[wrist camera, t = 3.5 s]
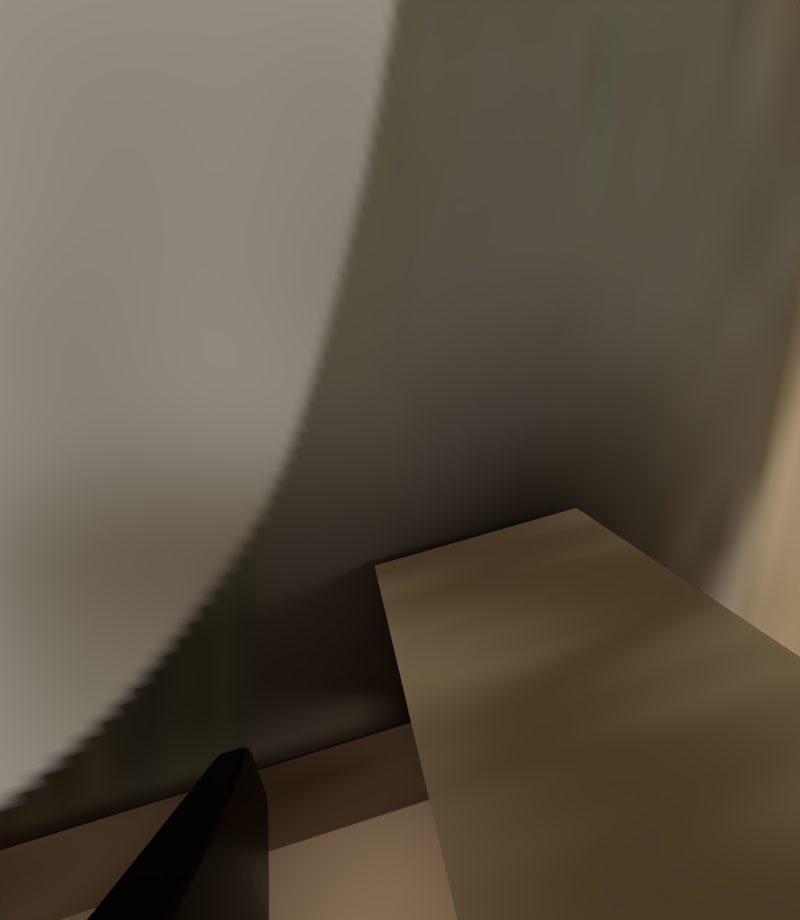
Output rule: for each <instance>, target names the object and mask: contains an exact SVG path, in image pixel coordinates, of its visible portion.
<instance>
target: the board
mask: <svg viewBox="0 0 800 920" xmlns="http://www.w3.org/2000/svg"><path fill="white" fill-rule="evenodd" d="M258 772H259V775H260V777H261V780H262V783H263V785H264V788H265V791H266V795H267V801H268V838H269V920H457V916H456V912H455V907H454V903H453V899H452V895H451V890H450V886H449V882H448V877H447V873H446V869H445V865H444V860H443V856H442V852H441V848H440V843H439V839H438V835H437V830H436V826H435V822H434V818H433V813H432V809H431V805H430V801H429V796H428V792H427V788H426V783H425V779H424V775H423V771H422V766H421V762H420V758H419V754H418V749H417V745H416V741H415V736H414V732H413V728H412V724H411V723H408V724H405V725H401V726H398V727H395V728H392V729H389V730H385V731H382V732H379V733H376V734H373V735H369V736H366V737H363V738H360V739H356V740H353V741H350V742H347V743H344V744H340V745H337V746H334V747H331V748H328V749H324V750H321V751H318V752H315V753H312V754H308V755H305V756H302V757H299V758H296V759H292V760H289V761H286V762H283V763H279V764H276V765H273V766H270V767H267V768H263V769H260V770H258ZM188 793H189V792H186V793H183V794H180V795H177V796H174V797H170V798H167V799H164V800H161V801H158V802H154V803H151V804H148V805H145V806H141V807H138V808H135V809H132V810H129V811H125V812H122V813H119V814H116V815H113V816H109V817H106V818H103V819H100V820H97V821H93V822H90V823H87V824H84V825H81V826H77V827H74V828H71V829H68V830H64V831H61V832H58V833H55V834H52V835H48V836H45V837H42V838H39V839H36V840H32V841H29V842H26V843H23V844H20V845H16V846H13V847H10V848H7V849H4V850H0V920H87V919H88V918H89V916H90V915H91V914H92V913H93V911H94V910H95V909H96V908H97V906H98V905H99V904H100V903H101V901H102V900H103V899H104V898H105V896H106V895H107V894H108V893H109V891H110V890H111V889H112V888H113V886H114V885H115V884H116V883H117V881H118V880H119V879H120V878H121V876H122V875H123V874H124V873H125V871H126V870H127V869H128V868H129V866H130V865H131V864H132V863H133V861H134V860H135V859H136V858H137V856H138V855H139V854H140V853H141V851H142V850H143V849H144V848H145V846H146V845H147V844H148V843H149V841H150V840H151V839H152V838H153V836H154V835H155V834H156V833H157V831H158V830H159V829H160V828H161V826H162V825H163V824H164V823H165V821H166V820H167V819H168V818H169V816H170V815H171V814H172V813H173V811H174V810H175V809H176V808H177V806H178V805H179V804H180V803H181V801H182V800H183V799H184V798H185V796H186V795H187V794H188Z"/></svg>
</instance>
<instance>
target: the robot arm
mask: <svg viewBox="0 0 800 920" xmlns="http://www.w3.org/2000/svg"><path fill="white" fill-rule="evenodd" d="M87 920H269V838H268V801H267V795H266V791H265V788H264V785H263V783H262V780H261V777H260V775H259V772H258V769H257V767H256V764H255V761H254V758H253V756H252V753H251V752H250V750H249V749H248V748H246V747H241V748H238V749H234V750H231V751H228V752H225V753H222V754H220V755H219V756H218V757H217V758H216V759H215V760H214V761H213V763H212V764H211V765H210V766H209V768H208V769H207V770H206V771H205V773H204V774H203V775H202V776H201V778H200V779H199V780H198V781H197V783H196V784H195V785H194V786H193V788H192V789H191V790H190V791H189V793H188V794H187V795H186V796H185V798H184V799H183V800H182V801H181V803H180V804H179V805H178V806H177V808H176V809H175V810H174V811H173V813H172V814H171V815H170V816H169V818H168V819H167V820H166V821H165V823H164V824H163V825H162V826H161V828H160V829H159V830H158V831H157V833H156V834H155V835H154V836H153V838H152V839H151V840H150V841H149V843H148V844H147V845H146V846H145V848H144V849H143V850H142V851H141V853H140V854H139V855H138V856H137V858H136V859H135V860H134V861H133V863H132V864H131V865H130V866H129V868H128V869H127V870H126V871H125V873H124V874H123V875H122V876H121V878H120V879H119V880H118V881H117V883H116V884H115V885H114V886H113V888H112V889H111V890H110V891H109V893H108V894H107V895H106V896H105V898H104V899H103V900H102V901H101V903H100V904H99V905H98V906H97V908H96V909H95V910H94V911H93V913H92V914H91V915H90V916H89V918H88V919H87Z"/></svg>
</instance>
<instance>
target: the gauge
mask: <svg viewBox="0 0 800 920" xmlns="http://www.w3.org/2000/svg"><path fill="white" fill-rule="evenodd" d="M375 570H376V574H377V578H378V583H379V587H380V591H381V595H382V600H383V604H384V608H385V612H386V617H387V621H388V625H389V630H390V634H391V638H392V642H393V647H394V651H395V655H396V659H397V664H398V668H399V672H400V677H401V681H402V685H403V689H404V694H405V698H406V702H407V706H408V711H409V715H410V719H411V724H412V728H413V732H414V736H415V741H416V745H417V749H418V754H419V758H420V762H421V766H422V771H423V775H424V779H425V783H426V788H427V792H428V796H429V801H430V805H431V809H432V813H433V818H434V822H435V826H436V830H437V835H438V839H439V843H440V848H441V852H442V856H443V860H444V865H445V869H446V873H447V877H448V882H449V886H450V890H451V895H452V899H453V903H454V907H455V912H456V916H457V920H800V657H799V656H798V655H796V654H795V653H793V652H792V651H790V650H789V649H787V648H786V647H784V646H783V645H781V644H780V643H778V642H777V641H775V640H774V639H772V638H771V637H769V636H768V635H766V634H765V633H763V632H762V631H760V630H759V629H757V628H756V627H754V626H753V625H751V624H750V623H748V622H747V621H745V620H744V619H742V618H741V617H739V616H738V615H736V614H735V613H733V612H732V611H730V610H729V609H727V608H726V607H724V606H723V605H721V604H720V603H718V602H717V601H715V600H714V599H712V598H711V597H709V596H708V595H706V594H705V593H703V592H702V591H700V590H699V589H697V588H696V587H694V586H693V585H691V584H690V583H688V582H687V581H685V580H684V579H682V578H681V577H679V576H678V575H676V574H675V573H673V572H672V571H670V570H669V569H667V568H666V567H664V566H663V565H661V564H660V563H658V562H657V561H655V560H654V559H652V558H651V557H649V556H648V555H646V554H645V553H643V552H642V551H640V550H639V549H637V548H636V547H634V546H633V545H631V544H630V543H628V542H627V541H625V540H624V539H622V538H621V537H619V536H618V535H616V534H615V533H613V532H612V531H610V530H609V529H607V528H606V527H604V526H603V525H601V524H600V523H598V522H597V521H595V520H594V519H592V518H591V517H589V516H588V515H586V514H585V513H583V512H582V511H580V510H579V509H577V508H574V509H571V510H567V511H564V512H560V513H557V514H553V515H550V516H546V517H543V518H539V519H536V520H532V521H529V522H526V523H522V524H519V525H515V526H512V527H508V528H505V529H501V530H498V531H494V532H491V533H487V534H484V535H480V536H477V537H473V538H470V539H466V540H463V541H459V542H456V543H452V544H449V545H445V546H442V547H439V548H435V549H432V550H428V551H425V552H421V553H418V554H414V555H411V556H407V557H404V558H400V559H397V560H393V561H390V562H386V563H383V564H379V565H376V566H375Z"/></svg>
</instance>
